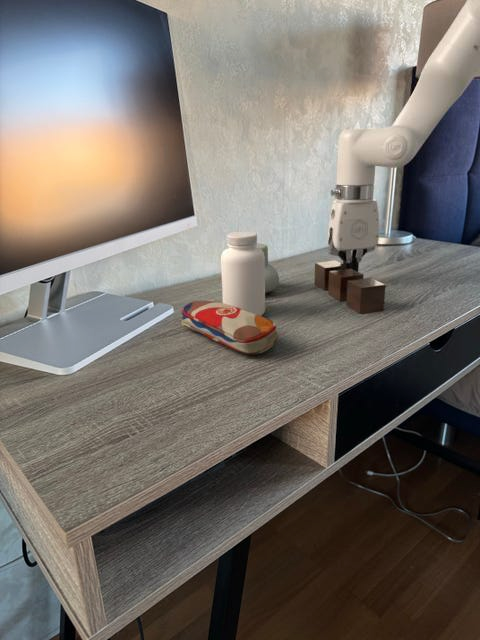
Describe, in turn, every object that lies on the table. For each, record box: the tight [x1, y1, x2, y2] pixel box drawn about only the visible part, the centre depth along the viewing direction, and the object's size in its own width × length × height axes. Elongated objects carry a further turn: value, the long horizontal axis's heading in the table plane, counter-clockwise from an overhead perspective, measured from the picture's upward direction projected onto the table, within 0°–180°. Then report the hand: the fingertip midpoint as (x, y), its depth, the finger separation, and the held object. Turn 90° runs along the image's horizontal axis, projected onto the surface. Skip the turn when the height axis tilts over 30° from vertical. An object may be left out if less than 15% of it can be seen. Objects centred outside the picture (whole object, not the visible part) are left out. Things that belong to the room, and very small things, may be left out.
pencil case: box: [180, 300, 278, 355], centre depth 73 cm, size 11×20×5 cm, turn 25°
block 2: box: [346, 277, 386, 315], centre depth 83 cm, size 5×5×5 cm
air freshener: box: [256, 242, 280, 294], centre depth 95 cm, size 11×8×10 cm
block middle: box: [327, 269, 364, 302], centre depth 90 cm, size 5×5×5 cm
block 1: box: [314, 260, 346, 292], centre depth 97 cm, size 5×5×5 cm
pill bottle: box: [220, 231, 266, 316], centre depth 81 cm, size 8×8×15 cm
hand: (350, 278), depth 99 cm, fingers closed
